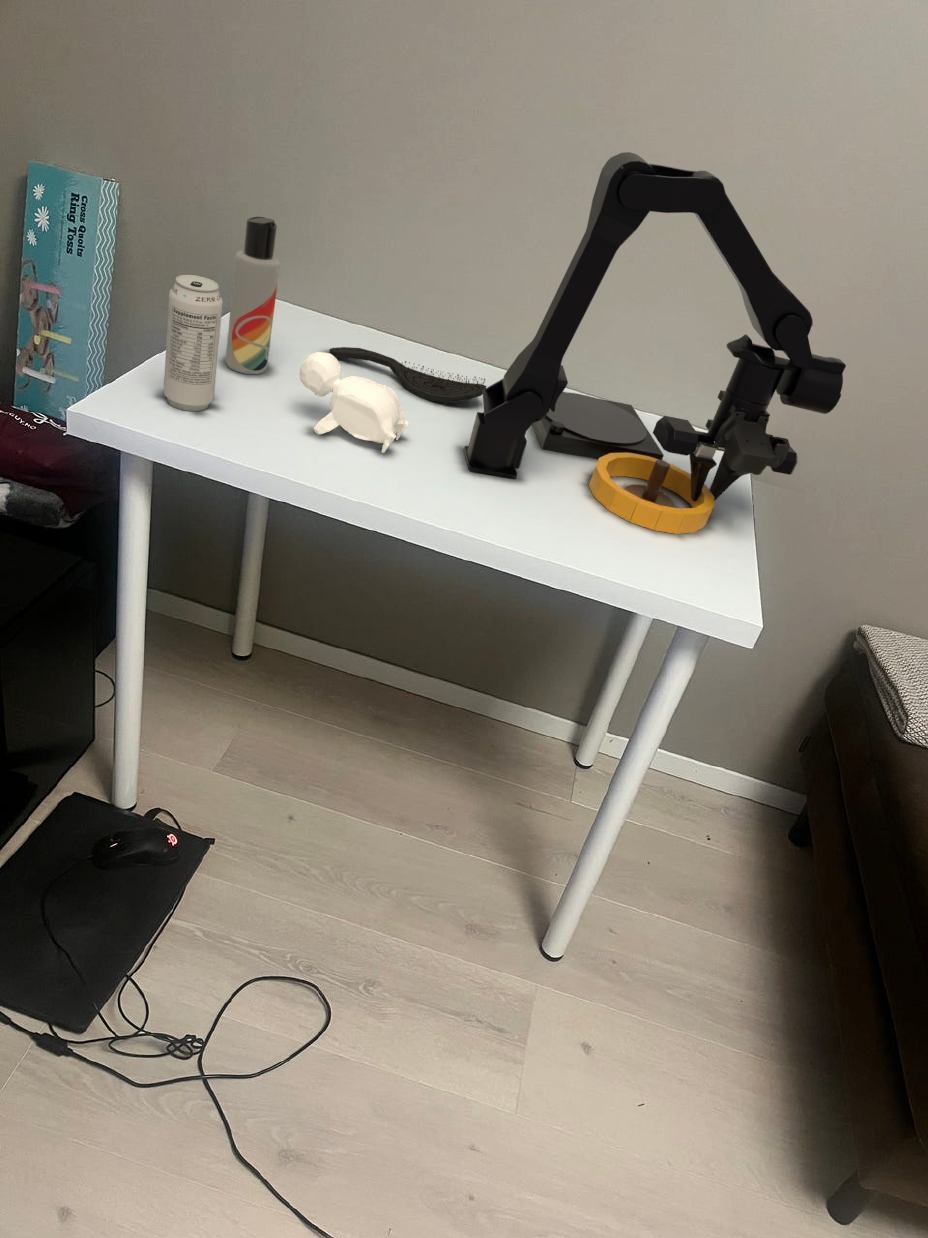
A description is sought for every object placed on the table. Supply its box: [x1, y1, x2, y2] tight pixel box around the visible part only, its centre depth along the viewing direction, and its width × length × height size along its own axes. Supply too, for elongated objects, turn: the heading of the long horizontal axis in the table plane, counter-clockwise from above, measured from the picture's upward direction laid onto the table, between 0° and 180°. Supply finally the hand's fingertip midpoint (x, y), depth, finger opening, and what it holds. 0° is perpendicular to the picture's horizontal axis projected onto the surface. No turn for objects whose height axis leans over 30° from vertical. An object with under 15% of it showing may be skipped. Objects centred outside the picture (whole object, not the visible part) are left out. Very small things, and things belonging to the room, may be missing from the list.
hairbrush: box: [328, 346, 487, 404], centre depth 137 cm, size 8×4×25 cm
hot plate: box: [531, 391, 665, 460], centre depth 138 cm, size 18×18×3 cm
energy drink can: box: [163, 274, 224, 412], centre depth 110 cm, size 6×6×15 cm
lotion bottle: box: [225, 216, 281, 375], centre depth 122 cm, size 6×6×20 cm
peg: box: [623, 459, 675, 508], centre depth 122 cm, size 7×7×6 cm
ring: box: [588, 453, 715, 535], centre depth 123 cm, size 16×16×3 cm
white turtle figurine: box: [299, 351, 410, 454], centre depth 117 cm, size 9×8×15 cm
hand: (701, 501), depth 125 cm, fingers closed
